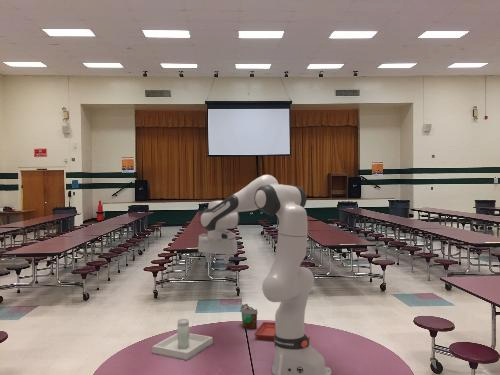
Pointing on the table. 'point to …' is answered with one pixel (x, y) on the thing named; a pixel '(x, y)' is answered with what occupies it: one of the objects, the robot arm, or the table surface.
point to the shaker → (183, 333)
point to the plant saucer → (266, 331)
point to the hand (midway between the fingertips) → (217, 262)
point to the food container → (249, 317)
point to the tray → (171, 349)
